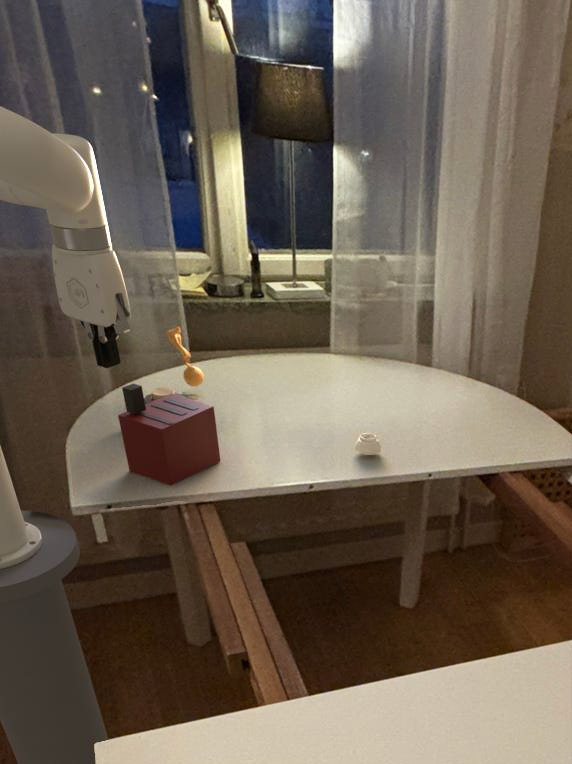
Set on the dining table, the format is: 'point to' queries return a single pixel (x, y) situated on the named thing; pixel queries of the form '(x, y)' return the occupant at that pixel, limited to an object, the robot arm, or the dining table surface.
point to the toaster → (170, 439)
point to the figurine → (186, 360)
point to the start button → (161, 392)
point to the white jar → (368, 444)
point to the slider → (134, 398)
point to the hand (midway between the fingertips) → (109, 364)
